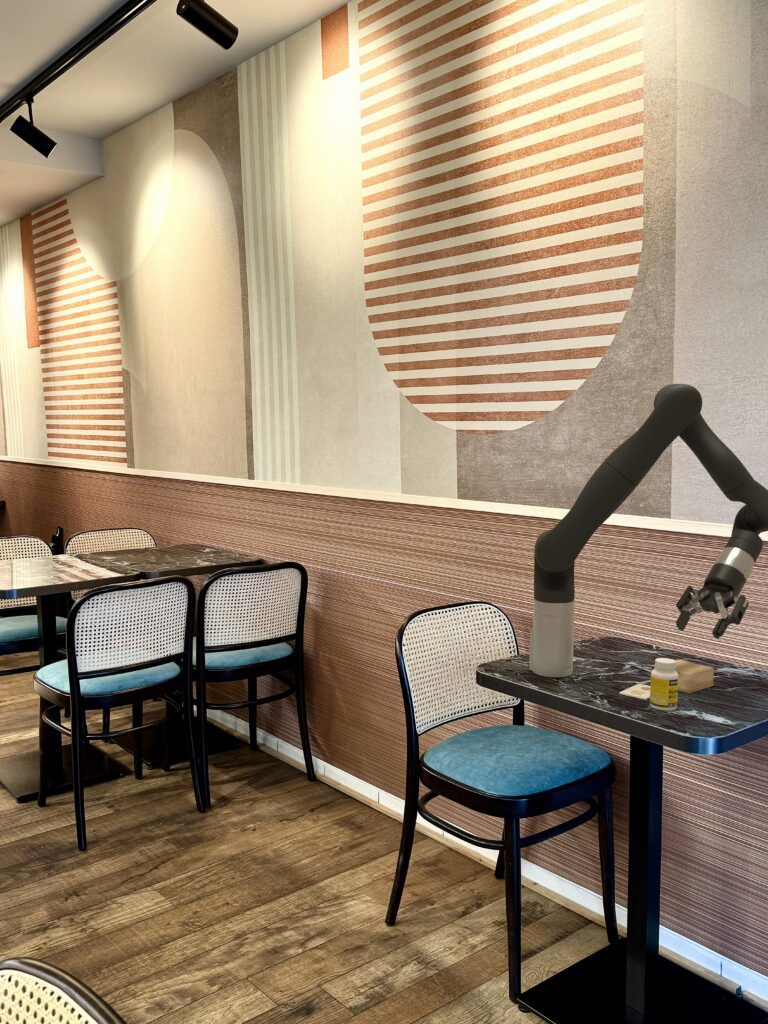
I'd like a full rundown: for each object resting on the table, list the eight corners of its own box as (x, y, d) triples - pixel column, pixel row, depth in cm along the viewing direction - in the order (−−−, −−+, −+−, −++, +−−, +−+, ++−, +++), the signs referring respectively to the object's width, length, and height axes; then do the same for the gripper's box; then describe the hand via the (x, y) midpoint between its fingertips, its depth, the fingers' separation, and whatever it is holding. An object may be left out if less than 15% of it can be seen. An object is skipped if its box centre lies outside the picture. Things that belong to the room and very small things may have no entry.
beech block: (652, 683, 201) (653, 665, 200) (677, 676, 206) (678, 659, 206) (688, 693, 193) (689, 675, 193) (713, 685, 199) (714, 668, 198)
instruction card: (619, 693, 193) (619, 692, 193) (638, 684, 199) (639, 683, 199) (645, 699, 189) (645, 697, 189) (664, 690, 195) (664, 688, 195)
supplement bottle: (670, 713, 180) (672, 665, 179) (645, 707, 184) (646, 660, 183) (681, 706, 184) (683, 660, 183) (656, 701, 188) (657, 655, 187)
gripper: (694, 558, 199) (660, 615, 193) (754, 566, 187) (720, 627, 182) (707, 579, 202) (674, 636, 197) (766, 588, 191) (734, 649, 185)
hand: (696, 632), depth 189 cm, fingers open, 8 cm apart
